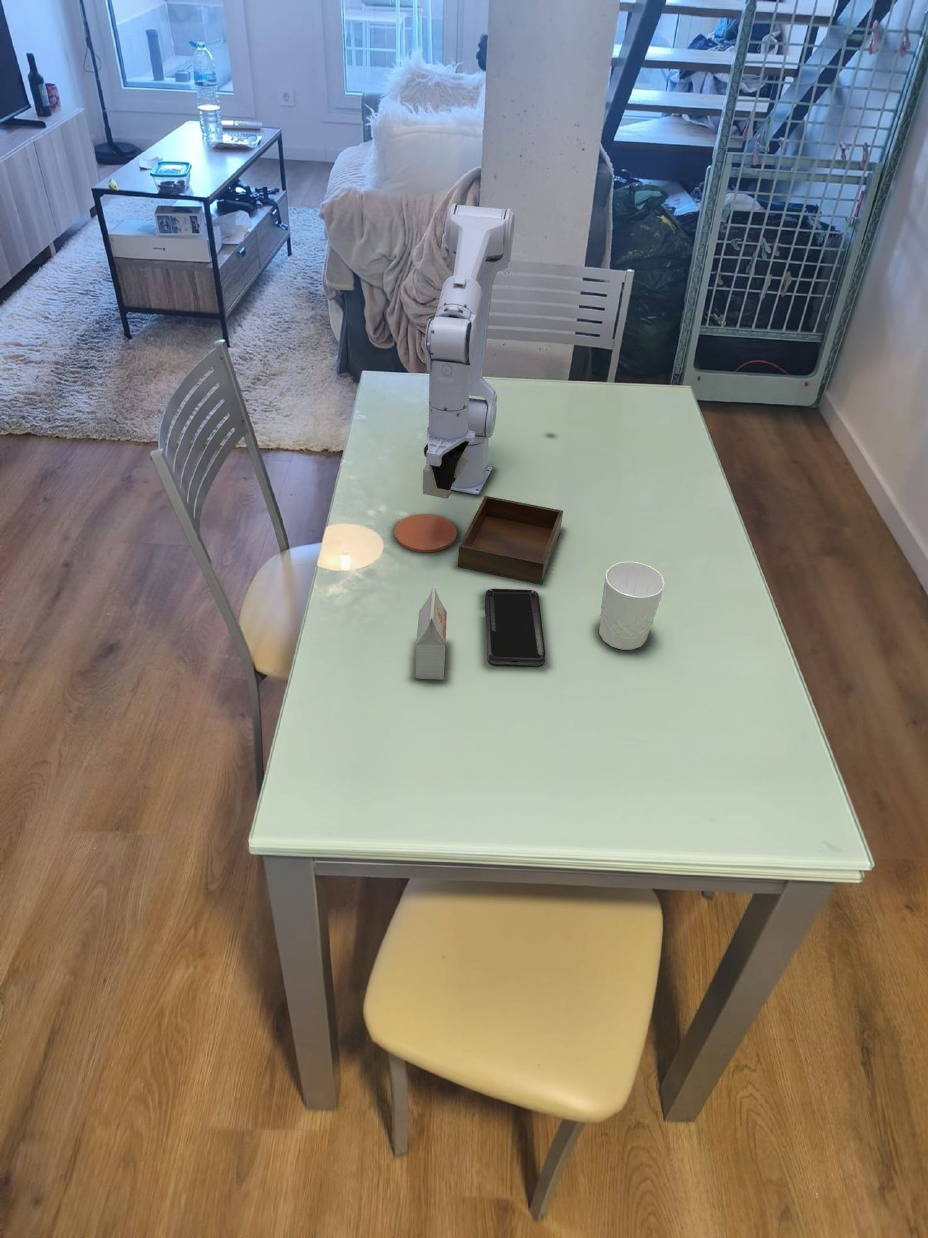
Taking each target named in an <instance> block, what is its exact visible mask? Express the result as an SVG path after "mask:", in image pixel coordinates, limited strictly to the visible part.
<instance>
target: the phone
mask: <svg viewBox="0 0 928 1238" xmlns="http://www.w3.org/2000/svg"><path fill="white" fill-rule="evenodd" d="M484 597H485V599H484V603H485V604H484V614H485V628H486V651H487V652H486V654H487V661H488V662H489V663H490V664H492V665H494V666H495V665H496V666H498V665H499V666H525V667H526V666H527V667H528V666H530V667H532V666H533V667H540V666H541V665H543V664H544V663H545V661H546V648H545V646H546V645H545V638H544V630H543V621H542V620H543V619H542V613H541V604H540V595H539V593H538V592H537V591H536V590H534V589H520V588H519V589H516V588H515V589H514V588H489V589H487V590H486V591H485V595H484Z"/></svg>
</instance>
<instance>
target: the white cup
mask: <svg viewBox="0 0 928 1238" xmlns="http://www.w3.org/2000/svg"><path fill="white" fill-rule="evenodd" d="M665 586H666V585H665V578H664V576H663V575H662V574H661V572H659V571H658V570H657V569H656V568H654V567H653V566H651V565H648V564H646V563H643V562H638V561H629V560H628V561H620V562H616V563H614V564H612V565H610V566H609V567H608V568H607V570H606V571H605V576H604V584H603V591H602V598H601V603H600V604H601V605H600V615H599V616H600V621H599V630H598V634H599V636H600V638H601V640H602V641H603V642H604V643H606V644H607V645H609V646H610V647H612V648H616V649H619V650H624V651H625V650H628V651H629V650H630V651H631V650H635V649H638V648H641V647H642V646H643V645H644V644H645V643H646V642H647V640H648V636H649V632H650V629H651V627H652V626H653V624H654V623H653V622H654V619H655V616H656V613H657V611H658V607H659V605H660V601H661V598H662V595H663V591H664V588H665Z"/></svg>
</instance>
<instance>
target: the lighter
mask: <svg viewBox="0 0 928 1238" xmlns="http://www.w3.org/2000/svg"><path fill="white" fill-rule="evenodd" d="M471 456H472V455H471V454H469V453H468V452H466V451H465V450H464V452H463V454H462V456H461V457H460V459H459V461H458V463H457V466H456V469H455V474H454V478H456V479H457V478H458V476H459V475H460V473H461V472H462V470H463V469H464V467H465V466H466V464H467V463H468V461H469V459H470V458H471ZM422 494H423V495H426V496H430V497H435V498H441V499H446V500H448V499H449V498H450V496H451V494H452V490H451V489H450V490H444V489H439V488H437V486H436V482H435V478H434V474H433V470H432V467H431V465H428V464H425V466H424V468H423V470H422Z"/></svg>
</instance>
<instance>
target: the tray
mask: <svg viewBox="0 0 928 1238" xmlns="http://www.w3.org/2000/svg"><path fill="white" fill-rule="evenodd" d="M563 515H564V510H563V509H557V508H552V507H546V506H541V505H535V504H531V503H525V502H521V501H515V500H510V499H505V498H499V497H494V496H489V495H484V497H483V498H482V501H481V502H480V504H479V506H478V508H477V510H476V512H475V514H474V516H473V518H472V520H471V522H470V523H469V525H468V528H467V530H466V532H465V534H464V536H463V537H462V539H461V541H460V543H459V546H458V557H457V567H458V568H462V569H468V570H472V571H476V572H481V573H485V574H491V575H495V576H500V577H505V578H510V579H514V580H519V581H524V582H527V583H534V584H539V585H542V583H543V580H544V578H545V575H546V571H547V569H548V566H549V564H550V561H551V558H552V556H553V553H554V550H555V547H556V544H557V541H558V539H559V536H560V533H561V531H562V523H563Z"/></svg>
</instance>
